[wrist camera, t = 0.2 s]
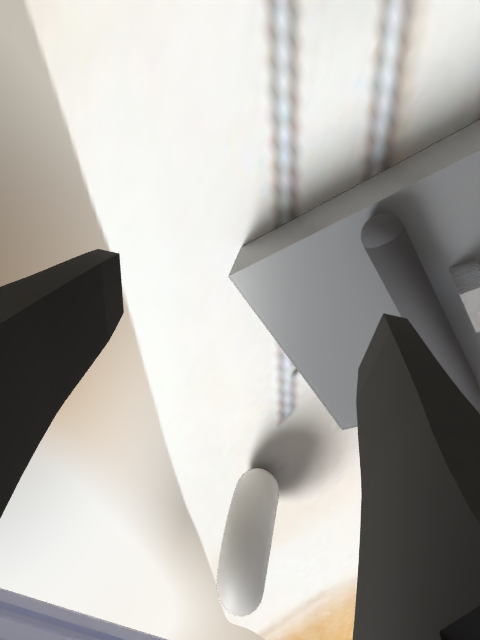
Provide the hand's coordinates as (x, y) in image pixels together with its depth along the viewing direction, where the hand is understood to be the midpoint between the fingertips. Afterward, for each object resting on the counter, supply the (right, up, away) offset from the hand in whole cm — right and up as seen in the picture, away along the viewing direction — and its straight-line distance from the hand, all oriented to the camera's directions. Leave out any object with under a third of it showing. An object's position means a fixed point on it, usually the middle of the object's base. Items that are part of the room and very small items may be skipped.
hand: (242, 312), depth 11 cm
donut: (+2, -14, +24) cm, 27 cm away
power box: (+11, +3, +8) cm, 14 cm away
